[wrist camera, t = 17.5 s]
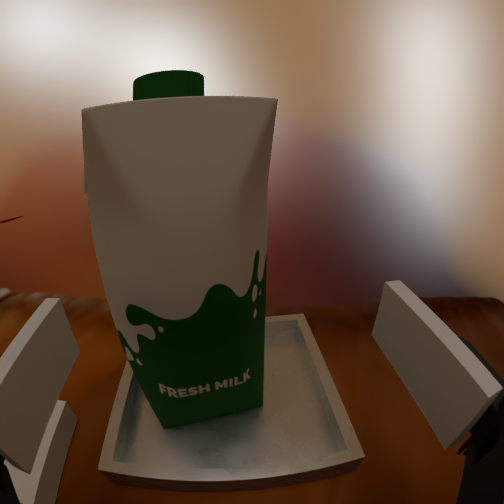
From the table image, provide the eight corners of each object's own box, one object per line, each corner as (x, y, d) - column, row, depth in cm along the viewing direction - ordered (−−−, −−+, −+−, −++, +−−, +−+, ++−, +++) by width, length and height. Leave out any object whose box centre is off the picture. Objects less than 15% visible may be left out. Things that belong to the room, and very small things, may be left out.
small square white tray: (-32, 471, 5) (-49, 456, 5) (1, 397, 14) (-10, 380, 13) (51, 519, 6) (32, 508, 6) (78, 418, 15) (66, 401, 14)
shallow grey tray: (111, 482, 11) (97, 469, 10) (145, 339, 24) (140, 321, 23) (354, 470, 12) (365, 456, 11) (301, 331, 25) (303, 313, 25)
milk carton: (237, 335, 24) (231, 85, 16) (282, 412, 16) (300, 49, 9) (139, 354, 21) (99, 94, 14) (151, 443, 13) (62, 53, 6)
